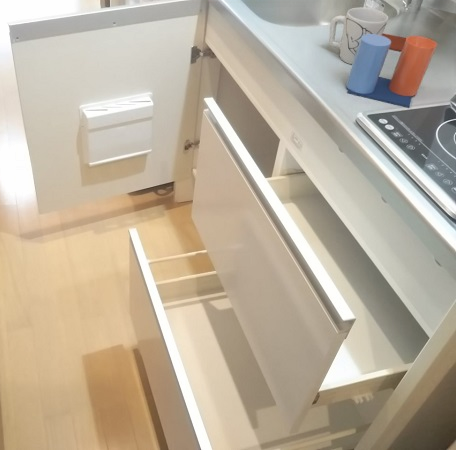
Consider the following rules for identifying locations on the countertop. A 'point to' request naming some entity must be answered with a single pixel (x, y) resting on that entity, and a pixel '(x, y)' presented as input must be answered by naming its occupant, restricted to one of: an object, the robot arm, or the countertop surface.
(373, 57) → the light blue cylinder
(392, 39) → the terracotta mat
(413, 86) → the tall orange cylinder
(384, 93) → the blue mat
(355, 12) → the mug
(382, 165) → the countertop surface
